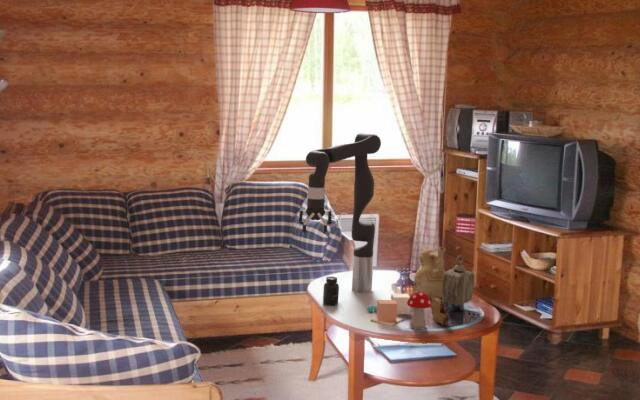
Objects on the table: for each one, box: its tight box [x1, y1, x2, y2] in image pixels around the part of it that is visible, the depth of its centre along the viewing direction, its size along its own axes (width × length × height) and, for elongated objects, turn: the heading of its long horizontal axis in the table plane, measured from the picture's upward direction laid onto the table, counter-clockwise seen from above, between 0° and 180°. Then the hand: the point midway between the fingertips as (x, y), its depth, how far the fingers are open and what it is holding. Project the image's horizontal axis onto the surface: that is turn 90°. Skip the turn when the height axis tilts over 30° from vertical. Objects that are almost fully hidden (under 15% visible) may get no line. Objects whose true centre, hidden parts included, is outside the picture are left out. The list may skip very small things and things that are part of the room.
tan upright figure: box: [413, 246, 446, 300], centre depth 349 cm, size 17×20×25 cm
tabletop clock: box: [441, 254, 475, 312], centre depth 328 cm, size 14×9×25 cm, turn 145°
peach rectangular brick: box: [375, 299, 398, 321], centre depth 310 cm, size 7×5×8 cm
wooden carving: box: [429, 298, 450, 326], centre depth 311 cm, size 16×5×10 cm, turn 17°
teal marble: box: [366, 304, 375, 313], centre depth 322 cm, size 3×3×3 cm
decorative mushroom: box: [407, 291, 432, 330], centre depth 303 cm, size 10×9×15 cm
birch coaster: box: [370, 316, 404, 327], centre depth 311 cm, size 10×10×1 cm
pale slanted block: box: [390, 293, 411, 315], centre depth 322 cm, size 7×5×8 cm
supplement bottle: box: [322, 276, 340, 307], centre depth 330 cm, size 7×7×12 cm
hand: (314, 233), depth 326 cm, fingers open, 8 cm apart
